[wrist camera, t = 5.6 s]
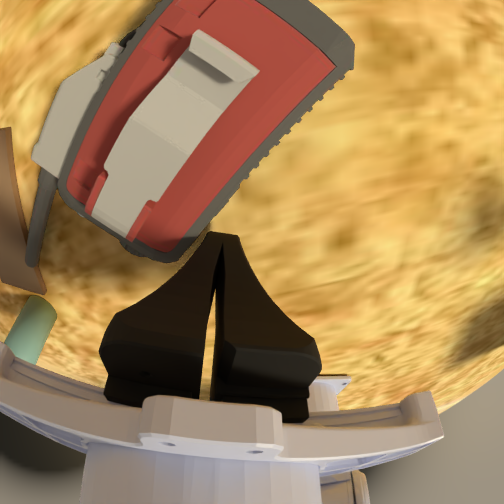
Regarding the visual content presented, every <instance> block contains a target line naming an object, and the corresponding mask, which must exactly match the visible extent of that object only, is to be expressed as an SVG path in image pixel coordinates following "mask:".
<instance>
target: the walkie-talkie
mask: <svg viewBox="0 0 504 504" xmlns="http://www.w3.org/2000/svg"><path fill="white" fill-rule="evenodd" d="M155 6H156V8H155V9H154V10H153V12H152V13H151V14H149V15H147V16H146V18H145V19H146V20H145V21H144V22H143V23H142V24H141V25H140V26H139V27H138V28H137V29H135V30H134V31H132V32H130V33H129V34H127V35H126V36H125V37H124V38H123V39H122V40H121V42H120V43H114V42H112V43H111V44H110V46H109V47H108V49H107V51H106V52H105V54H104V55H103V57H101V58H99V59H97V60H95V61H94V62H92V63H90V64H89V65H87V66H85V67H84V68H82V69H80V70H79V71H77V72H76V73H74V74H72V75H71V76H69V77H68V78H66V79H65V80H63V82H62V83H61V85H60V87H59V89H58V91H57V94H56V96H55V98H54V101H53V103H52V105H51V108H50V110H49V113H48V115H47V118H46V121H45V123H44V126H43V129H42V132H41V135H40V137H39V141H38V142H37V143H36V144H35V145H34V148H33V152H32V155H31V160H33V161H34V162H35V163H37V164H38V165H40V166H41V167H42V168H41V171H40V175H39V178H38V183H39V188H38V192H37V195H36V200H35V204H34V208H33V213H32V218H31V223H30V228H29V234H28V240H27V247H26V254H25V263H26V265H27V266H28V267H31V268H34V267H35V266H36V265H37V264H38V261H39V256H40V251H41V246H42V241H43V237H44V232H45V228H46V224H47V220H48V216H49V212H50V209H51V205H52V202H53V199H54V195H55V192H56V189H57V188H58V190H59V194H60V196H61V197H62V199H63V200H64V202H65V203H66V204H67V205H68V206H69V207H70V208H71V209H73V210H74V211H76V212H77V213H78V214H79V215H80V216H81V217H84V218H86V219H88V220H89V221H91V222H92V223H94V224H96V225H97V226H99V227H100V228H102V229H103V230H105V231H106V232H108V233H110V234H111V235H113V236H114V237H116V238H117V239H119V240H120V243H121V245H122V246H123V247H124V248H125V249H126V250H127V251H128V252H130V253H131V254H133V255H136V256H139V257H148V258H150V259H152V260H155V261H159V262H163V263H171V262H175V261H178V260H179V258H180V257H181V256H182V255H183V254H184V252H185V251H186V250H187V249H188V248H189V247H190V246H191V245H192V244H193V242H194V241H195V240H196V239H197V238H198V236H199V234H200V233H201V232H202V230H203V229H204V228H205V227H206V226H207V224H208V223H209V222H210V221H211V220H212V219H213V217H214V216H216V215H217V214H218V213H219V212H220V210H221V209H222V208H223V207H224V206H225V205H226V203H227V202H228V201H229V199H230V198H231V196H232V195H233V194H234V193H235V192H236V191H237V190H238V188H239V187H240V183H241V181H242V180H243V179H247V178H248V177H249V172H250V171H251V170H252V169H253V168H257V167H258V166H259V161H260V160H261V159H262V158H263V157H267V156H268V155H269V150H270V149H271V148H272V147H273V146H274V145H276V146H277V145H278V144H279V143H280V141H279V140H280V139H281V138H282V137H283V135H284V134H289V133H290V132H291V130H290V128H291V127H292V126H293V125H294V124H295V123H296V122H297V123H299V122H300V121H301V120H302V119H301V117H302V116H303V115H304V114H305V113H306V112H307V111H308V112H310V111H311V110H312V109H313V108H312V105H313V104H314V103H315V102H316V101H317V100H319V101H321V100H322V99H323V95H324V94H325V93H326V92H327V91H328V90H332V89H333V88H334V84H335V83H336V82H337V81H338V80H343V79H344V78H345V76H344V74H345V73H346V72H347V71H348V70H353V68H354V50H355V44H354V42H353V41H352V39H351V38H350V36H349V35H348V34H347V33H346V32H345V31H344V30H343V29H342V28H341V27H339V26H338V25H337V24H336V23H335V22H334V21H333V20H332V19H330V18H329V17H328V16H327V15H326V14H325V13H323V12H322V11H321V10H320V9H319V8H317V7H316V6H315V5H314V4H312V3H311V2H310V1H308V0H162V1H161V2H158V3H157V4H156V5H155Z"/></svg>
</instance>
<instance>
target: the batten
mask: <svg viewBox="0 0 504 504" xmlns="http://www.w3.org/2000/svg"><path fill="white" fill-rule="evenodd" d="M27 240H28V231H27V228H26V224H25V219H24V215H23V211H22V206H21V202H20V197H19V191H18V186H17V180H16V173H15V166H14V158H13V148H12V136H11V127H7V128H0V278H1V281H2V282H3V283H6V284H9V285H12V286H15V287H18V288H21V289H24V290H28V291H31V292H34V293H38V294H41V295H45V293H46V291H47V289H46V287H45V284H44V282H43V279H42V276H41V273H40V270H39V268H38V265H36V266H35V267H34V268H31V267H28V266H27V265H26V263H25V254H26V247H27Z"/></svg>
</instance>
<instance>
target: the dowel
mask: <svg viewBox="0 0 504 504" xmlns="http://www.w3.org/2000/svg"><path fill="white" fill-rule="evenodd" d="M56 319H57V313H56V311H55V309H54V308H53V307H52V306H51V304H50V303H48V302H47V301H46V300H45V299H43V298H41V297H39V296H36V295H31V296H30V297H29V299H28V300H27V302H26V304H25V305H24V307H23V309H22V310H21V312H20V314H19V316H18V317H17V319H16V321H15V323H14V325H13V327H12V328H11V330H10V332H9V334H8V336H7V338H6V340H5V342H4V344H6V345H7V346H8V347H9V348H10V349H11V350H12V352H13V353H14V355H15V356H16V357H18V358H20V359H22V360H25V361H27V362H29V363H32V364H34V365H36V363H37V360H38V358H39V355H40V353H41V351H42V349H43V346H44V344H45V342H46V340H47V337H48V335H49V333H50V331H51V329H52V327H53V325H54V323H55V321H56Z"/></svg>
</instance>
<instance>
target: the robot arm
mask: <svg viewBox="0 0 504 504" xmlns="http://www.w3.org/2000/svg"><path fill="white" fill-rule="evenodd" d="M215 288H216V301H215V318H216V329H215V344H214V355H213V366H212V378H211V389H210V401H206V400H199V395H200V385H201V376H202V367H203V358H204V349H205V340H206V330H207V323H208V319H209V314H210V310H211V306H212V301H213V297H214V292H215ZM99 354H100V357H101V360H102V362H103V364H104V366H105V368H106V370H107V372H108V378H107V381H106V385H105V389H104V388H100V387H97V386H93V385H90V384H87V383H84V382H80V381H77V380H74V379H71V378H68V377H65V376H63V375H60V374H57V373H54V372H52V371H49V370H46V369H44V368H41V367H39V366H36V365H34V364H32V363H29V362H27V361H25V360H22V359H20V358H18V357H16V356H15V355H14V353H13V352H12V350H11V349H10V348H9V347H8V346H7V345H6V344H4V343H3V342H1V341H0V411H1V412H2V413H4V414H6V415H7V416H9V417H11V418H12V419H14V420H16V421H18V422H19V423H21V424H23V425H25V426H27V427H28V428H30V429H32V430H34V431H36V432H38V433H40V434H42V435H44V436H46V437H48V438H50V439H52V440H54V441H57V442H59V443H61V444H63V445H66V446H68V447H70V448H72V449H75V450H77V451H80V452H82V453H85V454H87V456H86V461H85V467H84V473H83V480H82V487H81V494H80V504H370V500H369V493H368V487H367V481H366V477H365V474H363V473H362V472H359V470H358V469H362V468H366V467H370V466H374V465H377V464H381V463H385V462H388V461H392V460H395V459H398V458H402V457H405V456H408V455H410V454H412V453H415V452H417V451H419V450H421V449H423V448H425V447H427V446H429V445H430V444H432V443H434V442H436V441H438V440H440V439H441V438H443V437H444V433H443V429H442V425H441V422H440V419H439V415H438V412H437V409H436V406H435V403H434V400H433V397H432V394H431V391H424V392H419V393H414V394H411V395H409V396H407V397H405V398H404V399H403V400H402V401H400V403H396V404H390V405H383V406H376V407H369V408H360V409H351V410H340V411H339V407H338V401H337V396H336V395H337V394H339V393H340V392H341V391H342V390H343V389H344V388H345V387H346V386H347V385H348V384H349V383H350V382H351V376H318V375H319V373H320V372H321V370H322V364H321V358H320V354H319V351H318V348H317V345H316V342H315V340H314V338H313V337H311V336H310V335H309V334H307V333H306V332H305V331H304V330H302V329H301V328H300V327H298V326H297V325H296V324H295V323H294V322H293V321H292V320H291V319H290V318H288V317H287V316H286V315H285V314H284V313H283V312H282V310H281V309H280V308H279V307H278V306H277V305H276V304H275V303H274V302H273V300H272V299H271V298H270V297H269V295H268V294H267V293H266V291H265V290H264V288H263V287H262V285H261V284H260V282H259V281H258V279H257V277H256V276H255V274H254V272H253V270H252V268H251V266H250V264H249V262H248V260H247V258H246V256H245V253H244V251H243V248H242V245H241V242H240V238H239V237H238V235H233V234H226V233H219V232H212V231H209V232H208V233H207V234H206V237H205V238H204V240H203V242H202V243H201V245H200V246H199V248H198V249H197V250H196V251H195V253H194V254H193V255H192V257H191V258H190V259H189V260H188V261H187V262H186V263H185V265H184V266H183V267H182V268H181V269H180V270H179V271H178V272H177V273H176V274H175V275H174V276H173V277H172V278H170V279H169V280H168V281H167V282H166V283H164V284H163V285H162V286H161V287H160V288H158V289H157V290H156V291H154V292H153V293H151V294H150V295H148V296H147V297H145V298H144V299H142V300H140V301H139V302H137V303H136V304H134V305H132V306H130V307H128V308H126V309H124V310H122V311H120V312H118V313H116V314H115V315H114V317H113V319H112V320H111V322H110V324H109V326H108V327H107V329H106V331H105V334H104V336H103V339H102V342H101V345H100V348H99ZM350 471H352V476H353V481H352V482H353V489H352V482H351V474H350Z"/></svg>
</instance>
